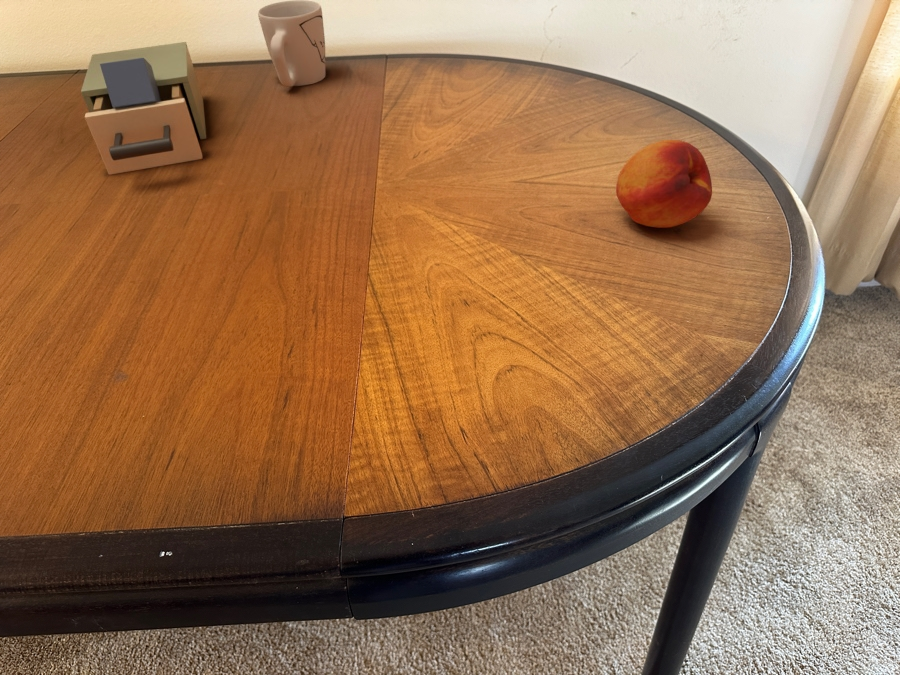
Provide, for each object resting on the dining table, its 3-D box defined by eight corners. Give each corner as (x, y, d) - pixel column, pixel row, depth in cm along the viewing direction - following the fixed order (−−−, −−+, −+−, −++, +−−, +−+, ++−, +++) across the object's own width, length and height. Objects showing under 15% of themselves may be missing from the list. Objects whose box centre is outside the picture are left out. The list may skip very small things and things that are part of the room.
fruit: (648, 254, 58) (663, 172, 53) (595, 213, 64) (604, 135, 58) (716, 231, 60) (738, 150, 55) (660, 193, 66) (674, 117, 61)
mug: (316, 103, 88) (301, 25, 81) (257, 102, 89) (238, 24, 83) (340, 73, 96) (328, -1, 90) (286, 72, 98) (271, 0, 91)
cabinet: (208, 145, 79) (187, 75, 74) (110, 162, 77) (80, 91, 72) (205, 105, 89) (186, 41, 84) (117, 119, 87) (91, 54, 81)
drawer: (204, 179, 71) (184, 119, 67) (105, 196, 69) (78, 136, 65) (199, 118, 84) (183, 65, 79) (116, 132, 82) (94, 78, 77)
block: (122, 112, 73) (112, 107, 69) (109, 71, 72) (99, 63, 68) (162, 105, 74) (155, 100, 70) (151, 65, 73) (143, 57, 69)
